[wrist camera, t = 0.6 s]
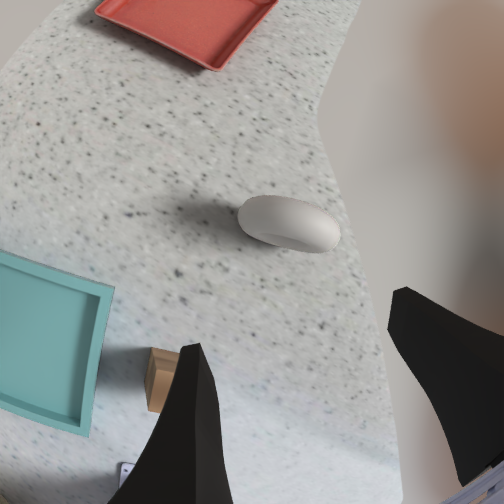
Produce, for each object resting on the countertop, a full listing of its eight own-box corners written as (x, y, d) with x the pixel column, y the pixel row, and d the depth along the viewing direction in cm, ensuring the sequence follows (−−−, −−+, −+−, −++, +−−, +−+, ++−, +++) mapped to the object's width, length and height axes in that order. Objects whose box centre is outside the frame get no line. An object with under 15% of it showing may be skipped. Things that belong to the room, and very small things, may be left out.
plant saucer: (272, 11, 37) (281, -2, 34) (212, 86, 34) (220, 72, 31) (171, -38, 31) (175, -52, 28) (91, 28, 28) (90, 12, 25)
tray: (90, 426, 27) (88, 437, 25) (-34, 380, 22) (-42, 387, 20) (114, 286, 29) (113, 289, 27) (-18, 242, 24) (-28, 240, 22)
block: (180, 389, 31) (193, 418, 25) (144, 382, 30) (148, 410, 23) (189, 355, 32) (203, 378, 25) (151, 346, 30) (156, 369, 24)
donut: (221, 231, 33) (256, 220, 24) (229, 200, 34) (267, 178, 24) (302, 258, 37) (358, 257, 27) (309, 229, 37) (365, 220, 28)
